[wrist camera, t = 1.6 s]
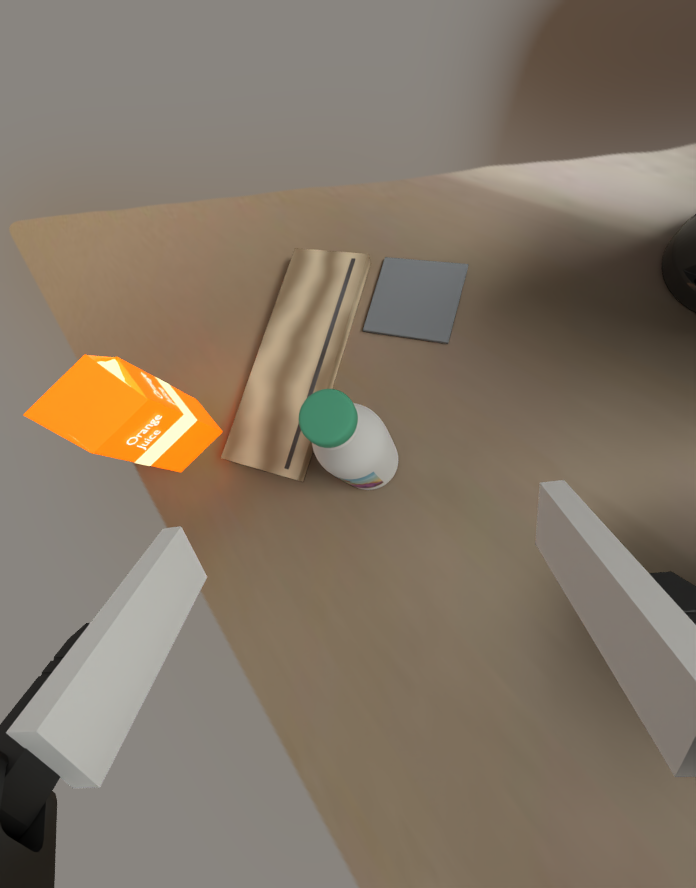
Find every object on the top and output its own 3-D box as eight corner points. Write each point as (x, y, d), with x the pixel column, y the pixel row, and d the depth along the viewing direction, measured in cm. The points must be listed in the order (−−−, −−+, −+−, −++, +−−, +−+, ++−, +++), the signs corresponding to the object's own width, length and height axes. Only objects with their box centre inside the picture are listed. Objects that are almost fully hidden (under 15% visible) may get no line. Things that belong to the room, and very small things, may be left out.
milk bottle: (363, 421, 47) (317, 351, 28) (411, 454, 45) (395, 400, 26) (329, 467, 47) (259, 428, 28) (375, 502, 44) (333, 485, 25)
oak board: (370, 263, 52) (368, 253, 50) (303, 482, 47) (297, 480, 45) (299, 257, 56) (294, 247, 54) (228, 460, 50) (220, 457, 49)
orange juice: (156, 438, 54) (8, 390, 35) (196, 398, 54) (70, 330, 35) (181, 473, 52) (37, 443, 33) (223, 432, 52) (103, 378, 33)
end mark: (468, 266, 49) (468, 264, 48) (448, 343, 47) (448, 342, 46) (385, 259, 52) (385, 257, 52) (363, 331, 50) (363, 329, 50)
